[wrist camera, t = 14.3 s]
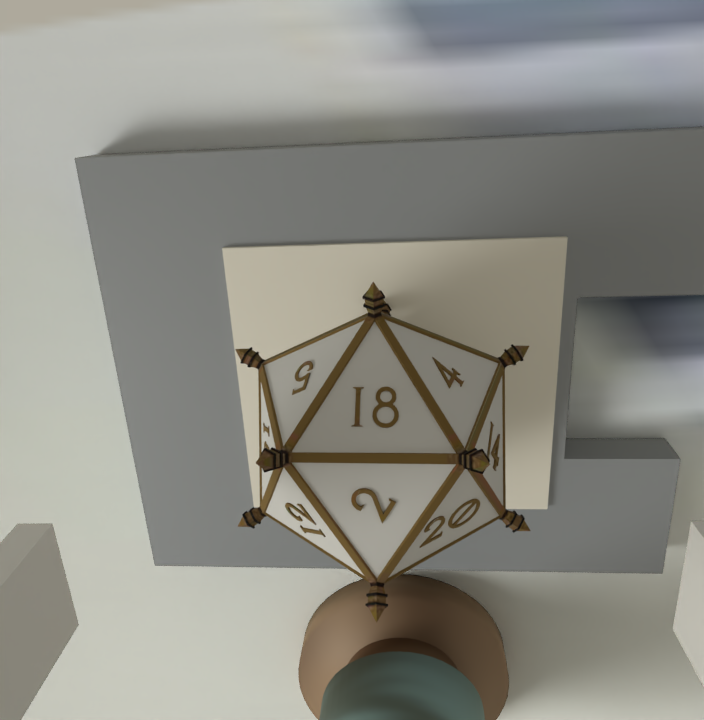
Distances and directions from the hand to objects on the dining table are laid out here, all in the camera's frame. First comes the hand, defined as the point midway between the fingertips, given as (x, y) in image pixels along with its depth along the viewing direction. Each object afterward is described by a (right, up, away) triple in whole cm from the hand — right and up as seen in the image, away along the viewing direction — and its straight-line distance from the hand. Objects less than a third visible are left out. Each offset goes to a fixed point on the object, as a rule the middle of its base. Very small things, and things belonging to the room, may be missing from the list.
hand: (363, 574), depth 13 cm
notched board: (+1, +4, +10) cm, 11 cm away
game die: (+1, +4, +9) cm, 10 cm away
